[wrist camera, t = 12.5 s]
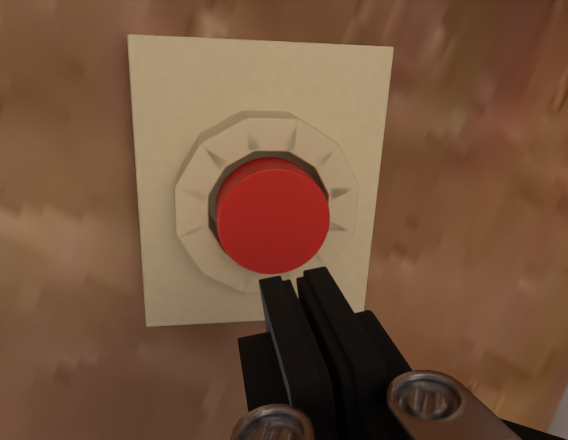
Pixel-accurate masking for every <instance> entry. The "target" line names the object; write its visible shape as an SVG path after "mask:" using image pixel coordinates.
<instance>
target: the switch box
mask: <svg viewBox="0 0 568 440" xmlns="http://www.w3.org/2000/svg"><path fill="white" fill-rule="evenodd" d="M127 44H128V59H129V74H130V90H131V105H132V121H133V136H134V151H135V167H136V182H137V197H138V213H139V228H140V243H141V259H142V274H143V289H144V305H145V320H146V327H152V326H170V325H188V324H206V323H225V322H243V321H261V320H265V317H264V311H263V305H262V299H261V293H260V287H259V279H264V278H269V277H274V276H279V275H280V276H281V278H282V280H288V279H290V280H291V282H292V285H293V287H294V290H295V292H296V294H297V297H298V291H297V283H296V278H298V277H303V271H304V270H308V269H313V268H318V267H323V266H326V267H327V269H328V271H329V272H330V274H331V275H332V277H333V279H334V280H335V282H336V284H337V285H338V287H339V288H340V290H341V292H342V293H343V295H344V297H345V298H346V300H347V301H348V303H349V305H350V306H351V308H352V310H353V311H354V313H357V312H362V311H364V304H365V295H366V286H367V277H368V269H369V260H370V251H371V242H372V234H373V225H374V216H375V207H376V199H377V190H378V181H379V172H380V164H381V155H382V146H383V137H384V129H385V120H386V111H387V102H388V94H389V85H390V76H391V67H392V59H393V50H394V48H393V47H389V46H369V45H348V44H327V43H306V42H285V41H265V40H244V39H223V38H202V37H181V36H160V35H140V34H128V35H127ZM262 157H278V158H283V159H286V160H289V161H291V162H293V163H295V164H297V165H299V166H300V167H301V168H303V169H304V170H305V171H306V172H307V173H308V174H309V176H310V177H311V178H312V179H313V180H314V181H315V183H316V184H317V185H318V186H319V187H320V189H321V190H322V192H323V193H324V195H325V197H326V200H327V202H328V206H329V212H330V224H329V230H328V233H327V236H326V239H325V241H324V243H323V245H322V246H321V248H320V249H319V251H318V252H317V253H316V254H315V255H314V256H313V257H312V258H311V259H310V260H309V261H308V262H307V263H305V264H304V265H302V266H300V267H298V268H296V269H294V270H292V271H289V272H285V273H281V274H261V273H256V272H253V271H250V270H248V269H245V268H243V267H242V266H240V265H238V264H237V263H236V262H235V261H233V260H232V259H231V258H230V257H229V255H228V254H227V253H226V251H225V250H224V248H223V246H222V244H221V242H220V239H219V236H218V231H217V222H216V211H215V207H216V199H217V195H218V192H219V189H220V187H221V185H222V183H223V182H224V181H225V179H226V178H227V177H228V175H229V174H230V173H231V172H232V171H234V170H235V169H236V168H237V167H239V166H240V165H242V164H244V163H246V162H248V161H250V160H253V159H257V158H262ZM298 299H299V298H298Z"/></svg>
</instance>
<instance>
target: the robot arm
mask: <svg viewBox="0 0 568 440" xmlns="http://www.w3.org/2000/svg"><path fill="white" fill-rule="evenodd" d="M296 283H297V291H298V297H297V294H296V292H295V290H294V287H293V285H292V282H291V280H290V279H288V280H282V278H281V276H280V275H279V276H274V277H269V278H264V279H259V287H260V293H261V299H262V305H263V311H264V317H265V323H266V329H267V332H265V333H260V334H255V335H251V336H246V337H241V338H238V345H239V352H240V359H241V365H242V372H243V378H244V385H245V392H246V398H247V405H248V413H247V414H246V415H245V416H243V417H242V418H241V419H240V420H239V421H238V423H237V424H236V426H235V427H234V428H233V431H232V435H231V438H230V440H566V439H563V438H560V437H557V436H554V435H551V434H548V433H544V432H541V431H538V430H535V429H532V428H529V427H525V426H522V425H519V424H516V423H513V422H510V421H507V420H503V419H500V418H498V417H497V416H496V415H495V414H494V413H493V412H492V411H491V410H490V409H489V408H488V407H486V406H485V405H484V404H483V403H482V402H481V401H480V400H479V399H478V398H477V397H476V396H475V395H473V394H472V393H471V392H470V391H469V390H468V389H467V388H466V387H465V386H464V385H463V384H462V383H460V382H459V381H457V380H456V379H455V378H453V377H451V376H449V375H447V374H444V373H442V372H437V371H432V370H414V371H413V370H412V369H411V368H410V366H409V365H408V363H407V362H406V360H405V359H404V357H403V356H402V354H401V353H400V352H399V350H398V349H397V347H396V346H395V344H394V343H393V341H392V340H391V338H390V337H389V336H388V334H387V333H386V331H385V330H384V328H383V327H382V325H381V324H380V322H379V321H378V319H377V318H376V317H375V315H374V314H373V313H372V311H370V310H366V311H362V312H357V313H354V311H353V310H352V308H351V306H350V305H349V303H348V301H347V300H346V298H345V297H344V295H343V293H342V292H341V290H340V288H339V287H338V285H337V284H336V282H335V280H334V279H333V277H332V275H331V274H330V272H329V271H328V269H327V267H326V266H323V267H318V268H313V269H308V270H304V271H303V277H298V278H296ZM298 298H299V299H298Z"/></svg>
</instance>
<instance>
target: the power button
mask: <svg viewBox="0 0 568 440" xmlns="http://www.w3.org/2000/svg"><path fill="white" fill-rule="evenodd" d="M215 211H216V222H217V231H218V236H219V239H220V242H221V244H222V246H223V248H224V250H225V251H226V253H227V254H228V255H229V257H230V258H231V259H232V260H233V261H235V262H236V263H237V264H238V265H240V266H242V267H243V268H245V269H248V270H250V271H253V272H256V273H261V274H281V273H285V272H289V271H292V270H294V269H296V268H298V267H300V266H302V265H304V264H305V263H307V262H308V261H309V260H310V259H311V258H312V257H313V256H314V255H315V254H316V253H317V252H318V251H319V249H320V248H321V246H322V245H323V243H324V241H325V239H326V236H327V233H328V230H329V224H330V212H329V206H328V202H327V200H326V197H325V195H324V193H323V192H322V190H321V189H320V187H319V186H318V185H317V184H316V183H315V181H314V180H313V179H312V178H311V177H310V176H309V174H308V173H307V172H306V171H305V170H304V169H303V168H301V167H300V166H299V165H297V164H295V163H293V162H291V161H289V160H286V159H283V158H278V157H262V158H257V159H253V160H250V161H248V162H246V163H244V164H242V165H240V166H239V167H237V168H236V169H235V170H234V171H232V172H231V173H230V174H229V175H228V177H227V178H226V179H225V181H224V182H223V183H222V185H221V187H220V189H219V192H218V195H217V199H216V207H215Z"/></svg>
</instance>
